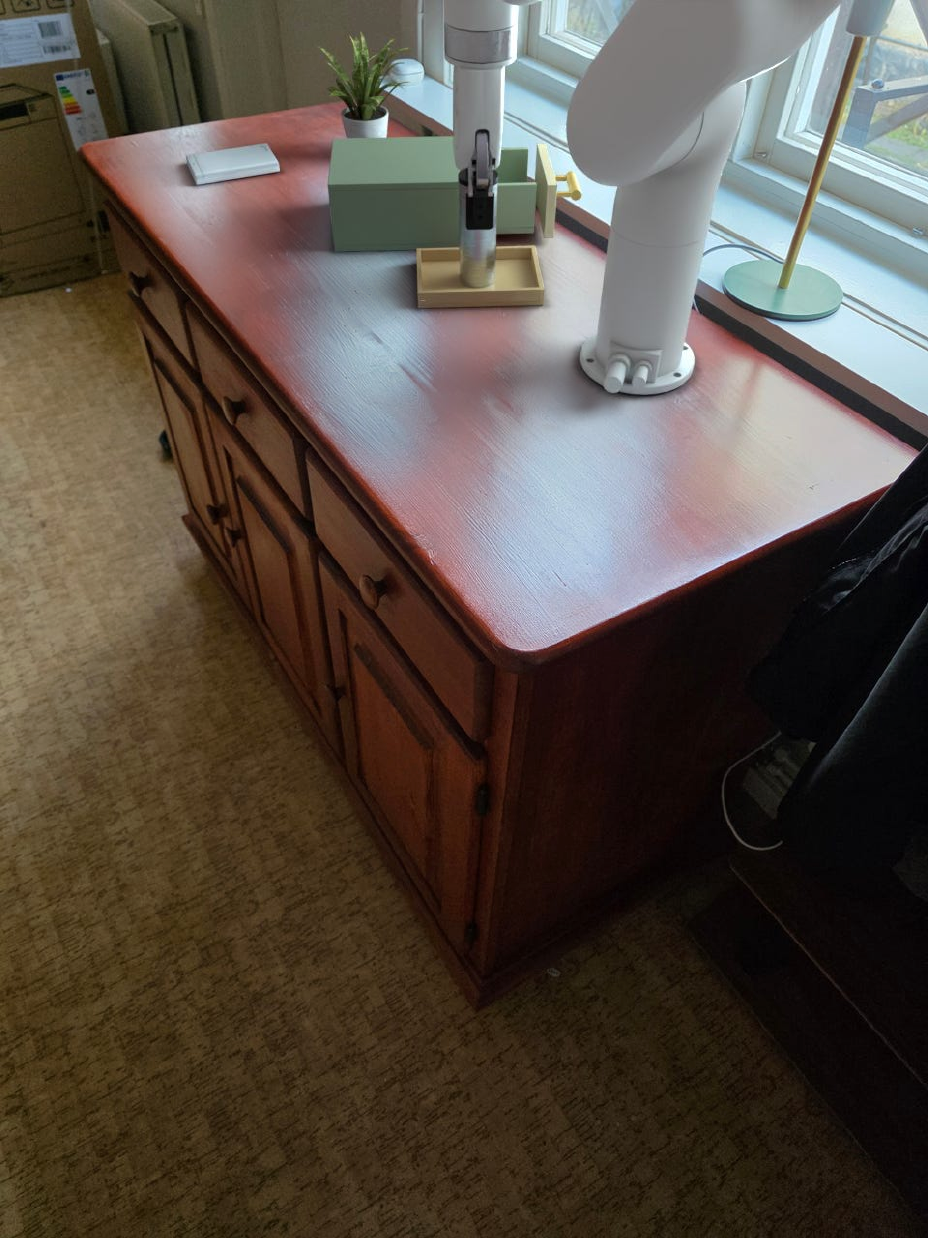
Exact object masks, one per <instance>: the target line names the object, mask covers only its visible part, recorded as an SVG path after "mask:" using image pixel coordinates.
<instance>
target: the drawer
mask: <svg viewBox="0 0 928 1238" xmlns="http://www.w3.org/2000/svg"><path fill="white" fill-rule="evenodd" d="M528 165H529V147H528V146H515V147H514V146H513V147H511V146H510V147H509V146H508V147H501V156H500V165H499V166H498V167H497V168H496V169H494V166H493V170H495V171H496V172H497V173H498V175H499V178H498V183H497V220H496V235H518V234H519V235H520V234H521V235H522V234H523V235H525V234H527V235H528V234H534V233H535V223H536V222H535V221H536V207H537V214H538V217H539V222H540V226H541V229H542V234H543V239H554V233H555V222H556V221H555V220H556V207H557V198H571V200H573V201H575V202H576V201H580V200H581V198H582V195H583V194H582V190H581V188H580V184H579V181H578V178H577V175H576V173H575V171H572V170H571V171H570V170H569V171H568V172H567V173H566V174H558V175H557V174H555V171H554V168H553V165H552V161H551V158H550V153H549V151H548V147H547V143H546V142H537V143H536V155H535V168H534V169H535V170H534V182H533V181H532V182H531V181H529V182H527V180H528ZM463 169H465V168H462V170H463ZM460 171H461V170H460ZM557 182H566V184H567V185H566V186H567V188H568V190H558V183H557Z"/></svg>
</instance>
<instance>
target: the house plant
mask: <svg viewBox="0 0 928 1238" xmlns="http://www.w3.org/2000/svg"><path fill="white" fill-rule="evenodd" d="M348 36H349V38H350V40H351V43H352V45H353V49H352V50H353V53H352V54H353V63H352V65H353V66H352V68H353V70H352V71H351V78H352V82H353V85H352V83H351V81H350V79H349V78H348V75H347V73H346V72H345V69H344V68H343V67H342V65H341V63H340V62H339V61H338V60H337V57H335V56H334V55H333V54H332V53H330V52H329V51H327V50H326V49H324V48H323V47H322V46H318V45H314V46H315V47H317V48H318V49H320V51H322V52H323V53H324V54H325V55H326V57H327V58H328V59H329V61H330V62H331V63H330V62H328V61H326V64H328V65H329V66H331V67H332V69H333V71H335V72H336V73H337V74H338V75H336V74H335V73H333V77H334V78H335V82H336V85H337V87H336V86H329V87H326V88H325V89H326V90H327V91H329V92H331V93H330V94H329V96H328V98H331V97H338V98H340V99H341V100H342V101H343V102H344V103H345V105H346V107H345V108H343V109H342V111H341V112H340V115H341V116H340V117H341V120H342V124H343V129H344V133H345V138H386V137H388V123H389V110H388V109H387V108H386V107H385V106H382V104H383V103H384V101H385V100H386V99H387V98H388V97H389V95H390V94H391V93H392V92H393V91H394V90H395V89H396V88H398V87H399V88H401V89H403V90H405V88H404V87H403V86H402V84H408V83H410V81H401V82H399V83H395V82H389V83H386V84H383V85H382V86H381V84H382V83H383V81H384V79H385V77H386V76H387V74H388V73H389V72H390V71H391V70H392V69H393V68H394V67H395V66H397V65H402V64H404V62H401V61H400V62H395V63H393V64H391V66H389V67H388V69H386V67H385V66H386V65H387V63H388V62H389V61H390V60H391V59H392V58H394V56H396V55H397V54H399V53H400V52H402V51H407V50H413V47H403V48H399V49H396V50H395V51H393V52H391V54H389V55H388V52H389V51H390V50H392V47H390V46H391V44H392V43H393V42H395V40H396V37H393V38H392V39H390V40H388V41H387V42H386V43H385V44H384V45H383V47H382V48H381V49H380V51H379V52H378V53H377V54H375V55H372V56H371V57H369V49H368V45H367V41H366V39H365V36H364V34H363V32H362V31H360V39H359V38H358V36H357V35H356V36H355V38H354V39H353V38H352V37H351V35H350V34H349V35H348ZM360 42H361V43H360ZM387 55H388V57H387ZM375 57H376V58H375ZM386 57H387V58H386ZM374 58H375V60H374V63H373V65H372V66H371V68H370V61H371V60H373V59H374ZM385 58H386V59H385ZM332 64H333V65H332ZM385 70H386V71H385ZM383 71H385V72H384V75H382V73H383ZM381 75H382V77H381ZM338 76H339V77H338ZM380 77H381V78H380ZM340 78H341V79H340ZM342 81H343V82H344V84H345V85H346V87H347V88H346V87H345V85H344V84H343V83H342ZM380 86H381V87H380ZM391 87H392V88H391ZM388 88H391V89H390V90H389V91H388V92H387V94H386V95H384V94H381V93H382V92H383V91H384V90H386V89H388ZM349 92H350V93H349ZM380 94H381V95H380Z"/></svg>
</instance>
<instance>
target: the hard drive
mask: <svg viewBox="0 0 928 1238" xmlns="http://www.w3.org/2000/svg"><path fill="white" fill-rule="evenodd" d="M185 160H186V161H185V162H186V164H187V166H188V169H189V171H190V173H191V176H192V178H193V180H194V182H195V184H196V185H197V186H199V185H204V184H205V185H206V184H212V183H217V182H223V181H224V182H225V181H230V180H236V179H242V178H249V177H254V176H261V175H267V174H272V173H273V174H274V173H280V172H281V169H280V163H279V161H278V159H277V158H276V155H275V153H273V151H272V150H271V148H270V146H269V145H268V143H267V142H264V143H258V144H251V145H245V146H244V145H243V146H237V147H232V148H225V149H224V148H223V149H218V150H212V151H211V150H210V151H205V152H198V153H192V154H186V155H185ZM205 177H207V178H205ZM195 178H196V179H195ZM200 178H201V179H200Z"/></svg>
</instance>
